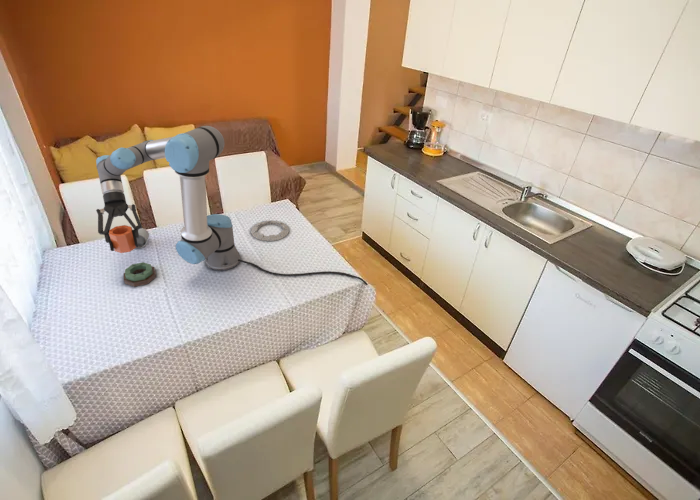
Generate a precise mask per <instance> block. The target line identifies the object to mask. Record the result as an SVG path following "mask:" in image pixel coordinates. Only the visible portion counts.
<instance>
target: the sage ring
mask: <svg viewBox="0 0 700 500" xmlns="http://www.w3.org/2000/svg"><path fill="white" fill-rule="evenodd" d="M152 267H153V266H152V264H150V263H147V262H143V261H142V262H138V263H132V264H131V265H129V266H128V267H126V268H125V269H124V273H125V277H126V279H128V280H131V281H139V280H144V279H146V278H148V277H149V276H150V275H151V274H153V272H152ZM138 269H145V270H146V271H144V272H141V273H137V274H132V273H133V272H134V271H135V270H138Z"/></svg>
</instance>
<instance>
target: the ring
mask: <svg viewBox="0 0 700 500" xmlns="http://www.w3.org/2000/svg"><path fill="white" fill-rule="evenodd" d="M269 225H274V226H278V227H280V228H281V229H282V230H281V231H280V232H278V234H268V235H265V234H264V233H261V232H258V230H259V229H260V228H261V227H264V226H269ZM250 233H251V235H252V236H253V238H255V239H257V240H259V241H263V242H274V241H280V240H282V239H284V238H286V237H287V236H288V235H289V233H290V229H289V226H288V225H287V224H285V222H281V221H278V220H265V221H261V222H258V223H256V224H255V225H253V226H252V228H251V231H250Z"/></svg>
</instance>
